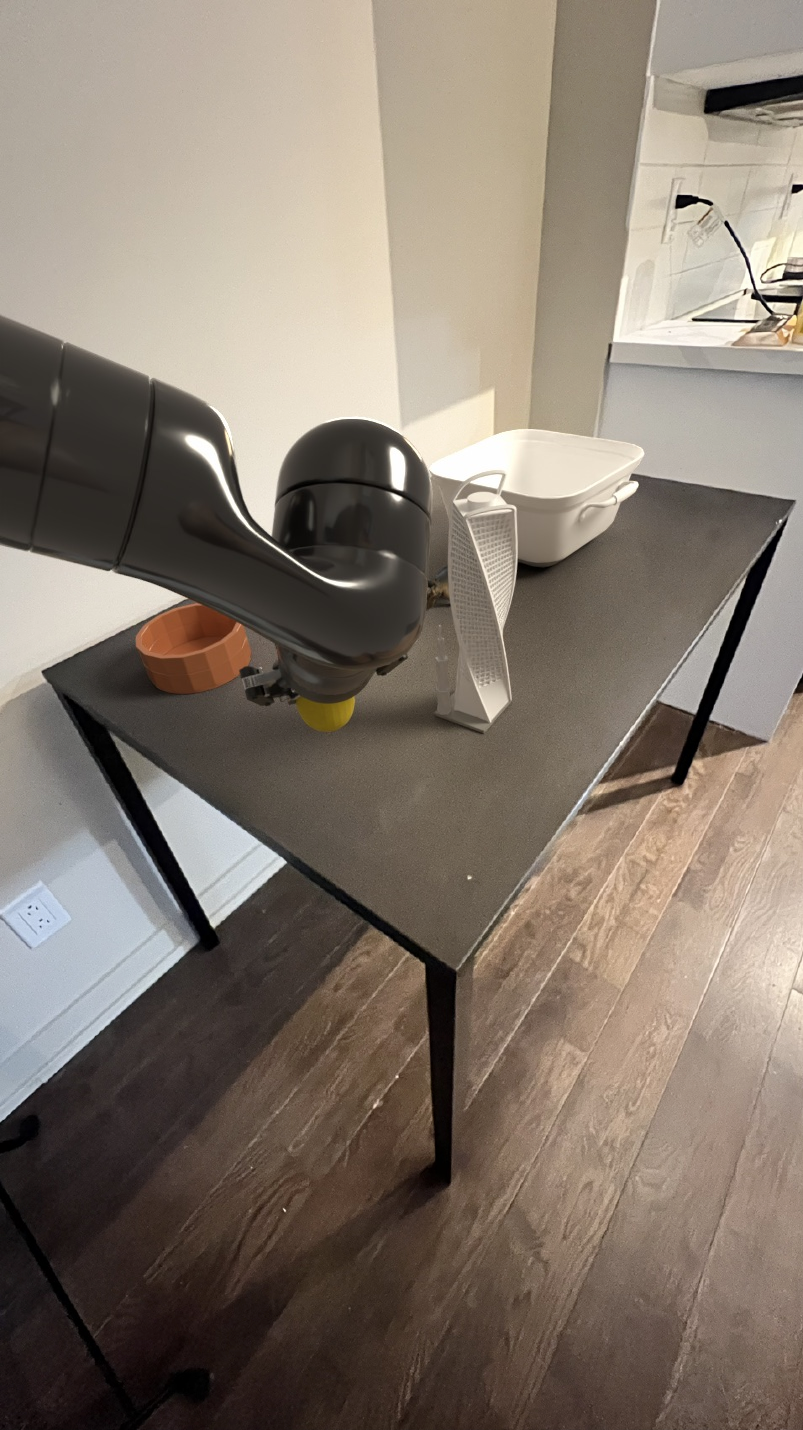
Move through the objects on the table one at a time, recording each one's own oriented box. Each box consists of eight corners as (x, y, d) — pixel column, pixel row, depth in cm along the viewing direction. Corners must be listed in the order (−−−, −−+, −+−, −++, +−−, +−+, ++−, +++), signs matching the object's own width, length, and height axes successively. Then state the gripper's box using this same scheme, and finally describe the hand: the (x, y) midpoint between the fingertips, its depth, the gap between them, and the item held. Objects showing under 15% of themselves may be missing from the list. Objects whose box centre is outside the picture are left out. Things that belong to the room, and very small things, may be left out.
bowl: (134, 695, 86) (118, 659, 82) (170, 638, 97) (158, 604, 94) (236, 692, 85) (225, 655, 81) (261, 634, 96) (252, 600, 92)
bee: (454, 615, 93) (491, 581, 97) (428, 575, 91) (466, 542, 95) (428, 623, 100) (463, 592, 103) (402, 586, 98) (439, 555, 101)
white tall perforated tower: (469, 679, 82) (464, 462, 65) (524, 697, 78) (536, 471, 61) (434, 715, 77) (419, 489, 60) (492, 736, 73) (494, 501, 56)
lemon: (292, 734, 62) (275, 668, 56) (331, 705, 65) (318, 640, 60) (331, 756, 59) (317, 688, 53) (370, 725, 62) (360, 658, 57)
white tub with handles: (658, 535, 111) (674, 449, 101) (571, 601, 96) (580, 507, 86) (502, 499, 130) (503, 423, 121) (409, 549, 115) (402, 467, 106)
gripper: (242, 719, 42) (257, 743, 59) (441, 667, 45) (401, 703, 61) (214, 615, 43) (236, 667, 59) (411, 569, 46) (380, 631, 62)
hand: (320, 685), depth 60 cm, fingers closed on lemon, 5 cm apart
